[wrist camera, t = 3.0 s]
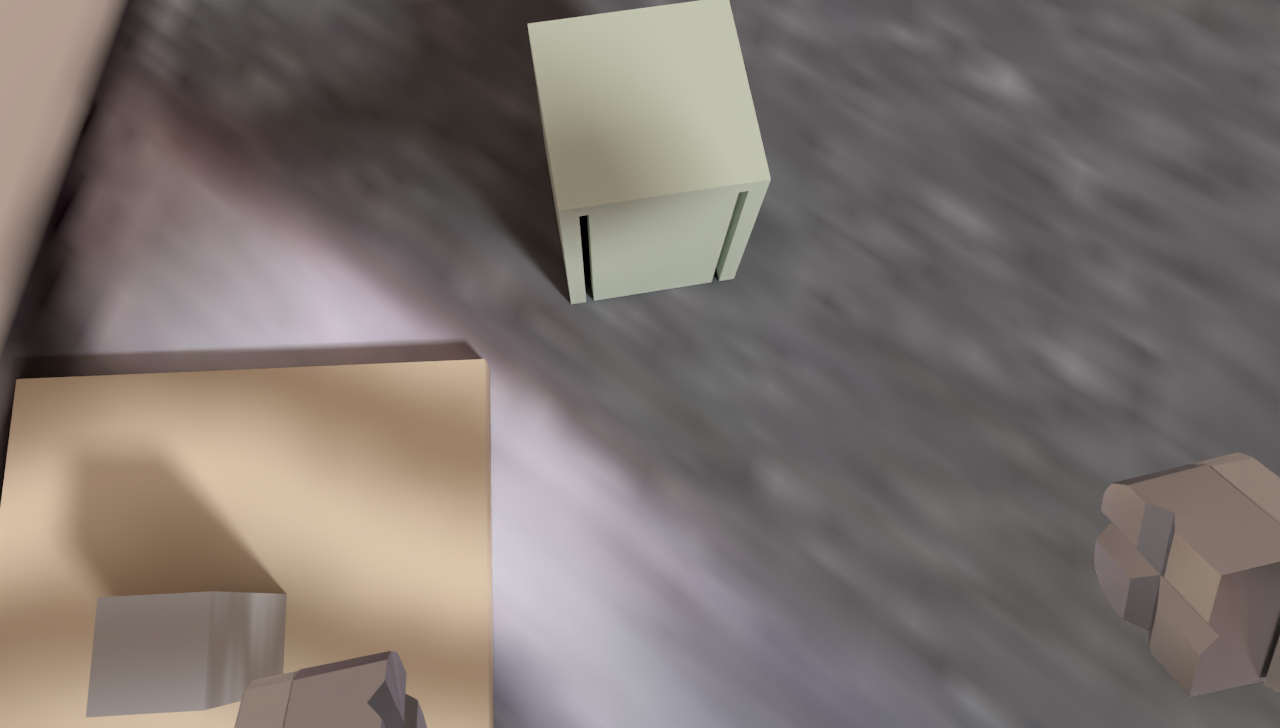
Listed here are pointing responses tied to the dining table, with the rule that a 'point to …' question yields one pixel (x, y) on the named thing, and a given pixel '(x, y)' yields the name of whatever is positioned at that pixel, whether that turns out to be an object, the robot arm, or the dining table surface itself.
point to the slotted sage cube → (649, 145)
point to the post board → (244, 539)
